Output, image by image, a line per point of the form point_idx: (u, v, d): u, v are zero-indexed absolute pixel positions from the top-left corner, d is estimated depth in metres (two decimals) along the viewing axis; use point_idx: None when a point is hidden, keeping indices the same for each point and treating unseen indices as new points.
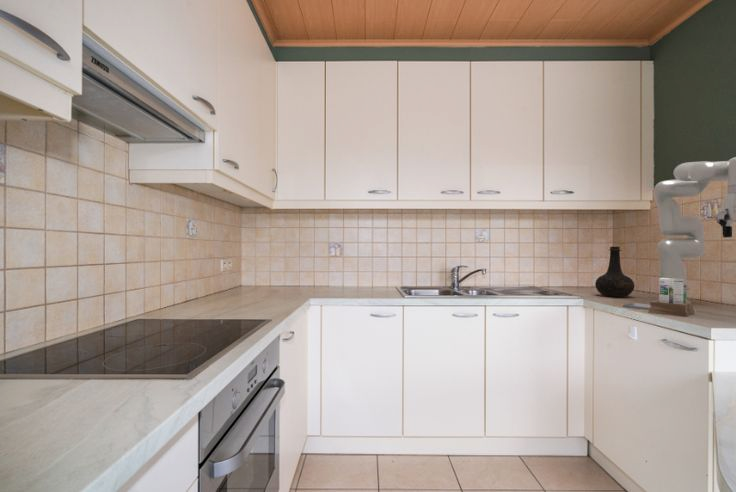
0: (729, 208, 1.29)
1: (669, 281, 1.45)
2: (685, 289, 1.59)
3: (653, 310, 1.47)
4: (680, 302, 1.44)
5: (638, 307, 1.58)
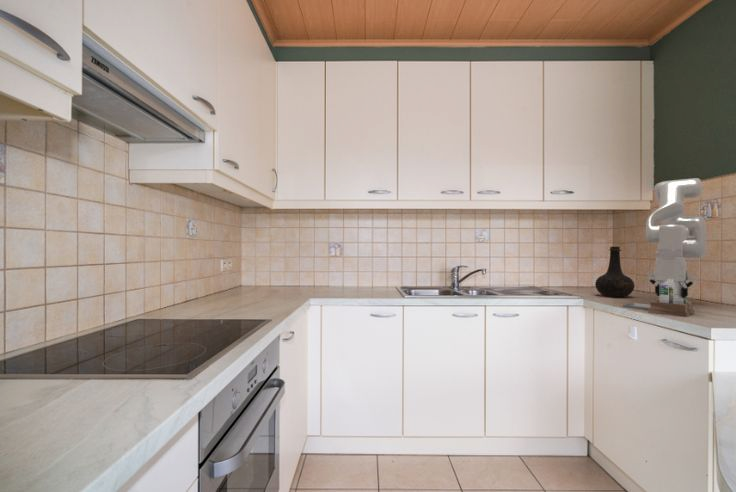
0: None
1: (669, 281, 1.45)
2: None
3: (653, 310, 1.47)
4: (680, 302, 1.44)
5: (638, 307, 1.58)
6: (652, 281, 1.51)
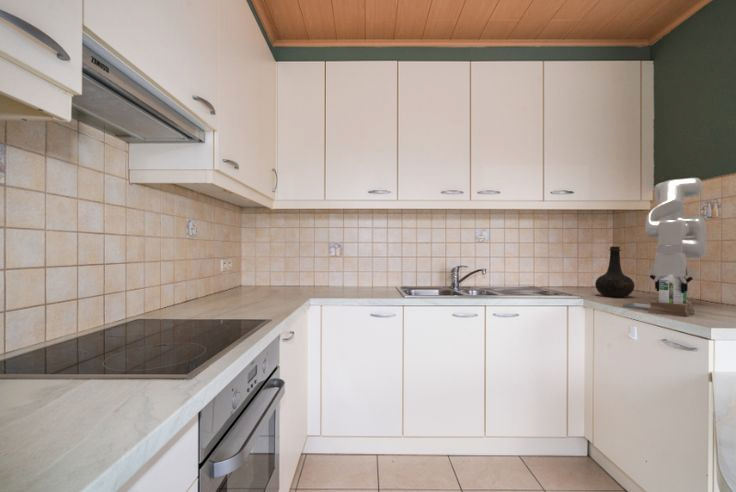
0: None
1: (669, 276, 1.45)
2: None
3: (653, 310, 1.47)
4: (680, 298, 1.44)
5: (638, 307, 1.58)
6: (652, 277, 1.51)
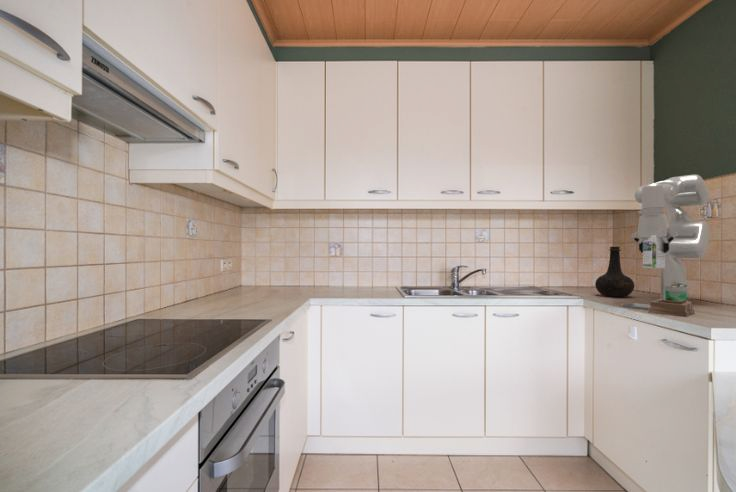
0: (668, 226, 1.52)
1: (652, 237, 1.53)
2: (686, 289, 1.58)
3: (653, 310, 1.47)
4: (662, 257, 1.53)
5: (638, 307, 1.58)
6: (636, 239, 1.59)
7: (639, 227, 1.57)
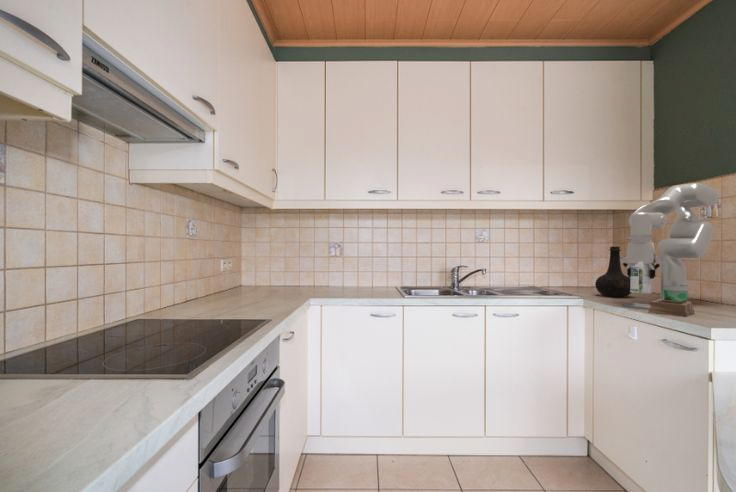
0: None
1: (639, 263, 1.59)
2: (684, 288, 1.57)
3: (653, 310, 1.47)
4: (648, 283, 1.59)
5: (638, 307, 1.58)
6: (625, 264, 1.66)
7: (627, 253, 1.64)
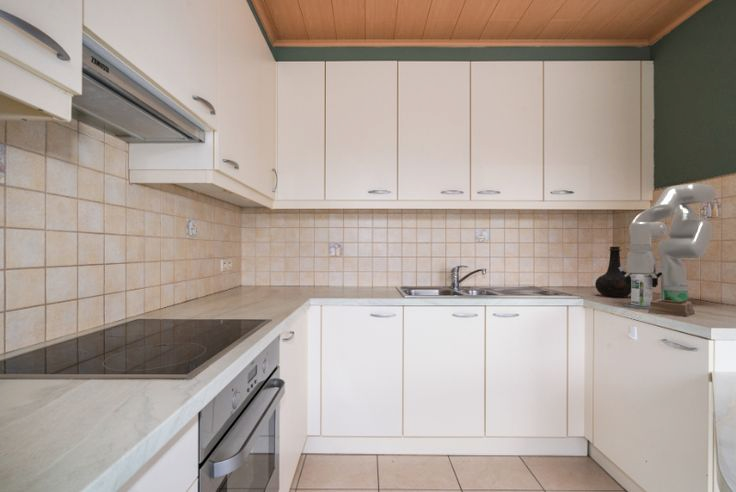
0: None
1: (640, 276, 1.59)
2: (684, 288, 1.57)
3: (653, 310, 1.47)
4: (649, 295, 1.59)
5: (638, 307, 1.58)
6: (623, 272, 1.66)
7: (627, 262, 1.64)
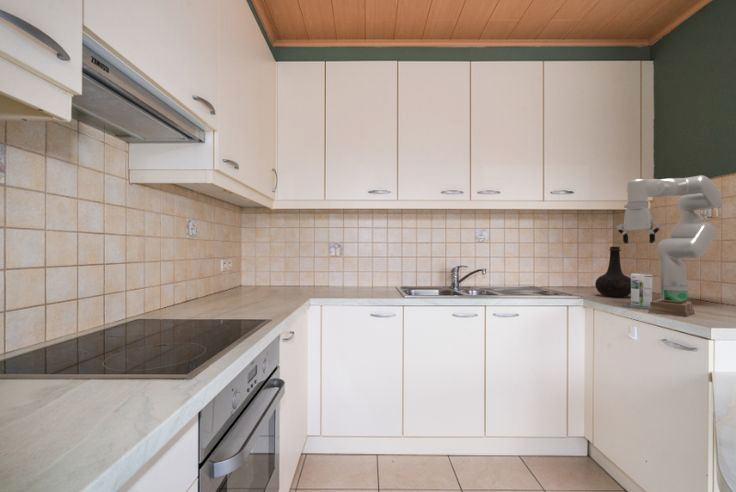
0: None
1: (639, 276, 1.59)
2: (684, 288, 1.57)
3: (653, 310, 1.47)
4: (649, 295, 1.59)
5: (638, 307, 1.58)
6: (620, 231, 1.68)
7: (625, 220, 1.65)
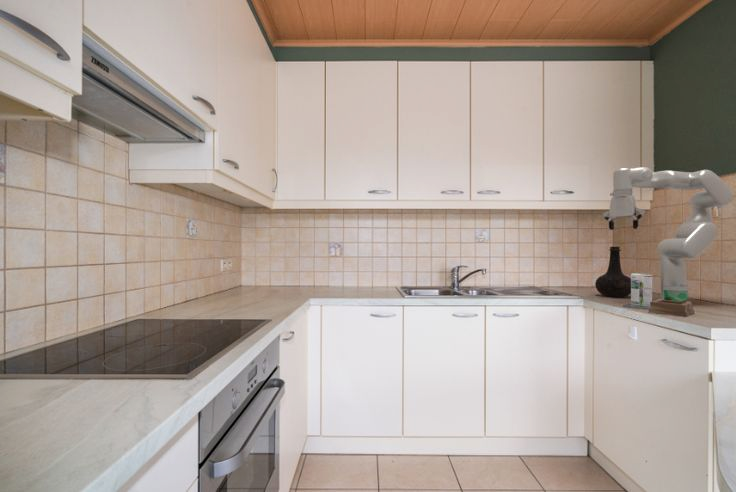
0: None
1: (639, 276, 1.59)
2: (684, 288, 1.57)
3: (653, 310, 1.47)
4: (649, 295, 1.59)
5: (638, 307, 1.58)
6: (606, 218, 1.77)
7: (610, 207, 1.74)
